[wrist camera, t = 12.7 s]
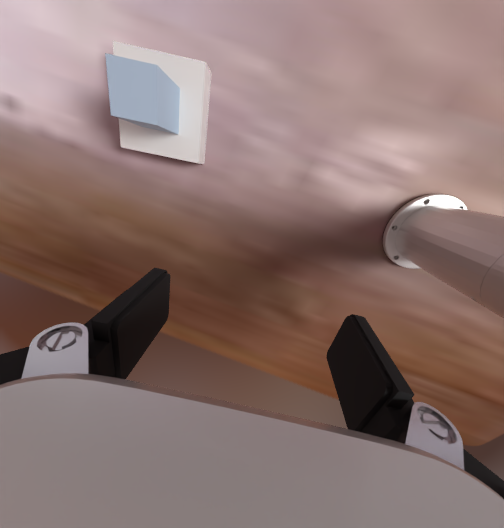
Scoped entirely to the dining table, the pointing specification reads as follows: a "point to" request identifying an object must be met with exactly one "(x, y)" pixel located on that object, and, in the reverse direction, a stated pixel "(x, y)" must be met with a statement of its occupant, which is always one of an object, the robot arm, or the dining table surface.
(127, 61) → the blue block
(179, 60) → the base tile
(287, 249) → the dining table surface
